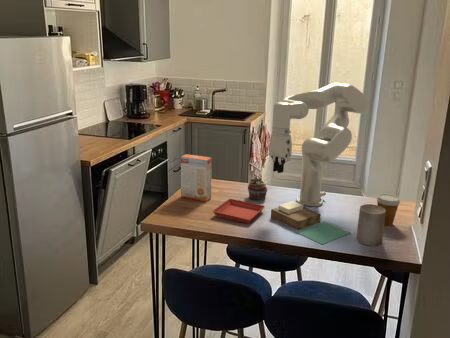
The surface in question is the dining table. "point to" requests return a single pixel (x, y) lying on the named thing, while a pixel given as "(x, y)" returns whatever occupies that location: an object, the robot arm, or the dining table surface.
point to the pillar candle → (371, 224)
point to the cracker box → (196, 177)
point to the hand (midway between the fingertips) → (278, 171)
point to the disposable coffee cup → (388, 207)
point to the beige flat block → (290, 207)
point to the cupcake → (257, 189)
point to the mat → (322, 232)
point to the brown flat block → (296, 218)
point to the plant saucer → (238, 210)
